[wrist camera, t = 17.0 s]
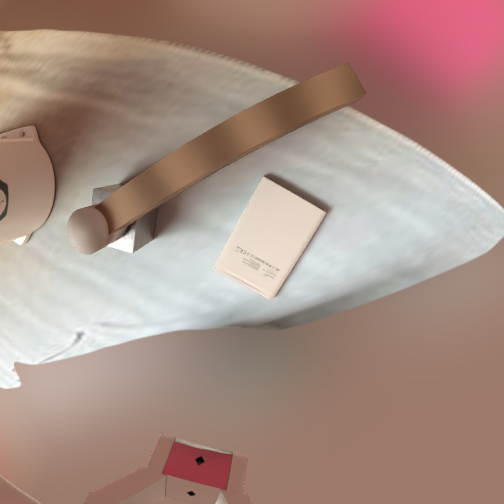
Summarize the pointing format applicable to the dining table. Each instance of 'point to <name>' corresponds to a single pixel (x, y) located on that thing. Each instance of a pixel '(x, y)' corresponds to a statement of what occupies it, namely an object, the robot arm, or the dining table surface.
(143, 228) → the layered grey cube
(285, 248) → the external hard drive
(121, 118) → the dining table surface
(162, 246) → the dining table surface
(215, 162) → the walnut swing arm
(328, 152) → the dining table surface
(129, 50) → the dining table surface
